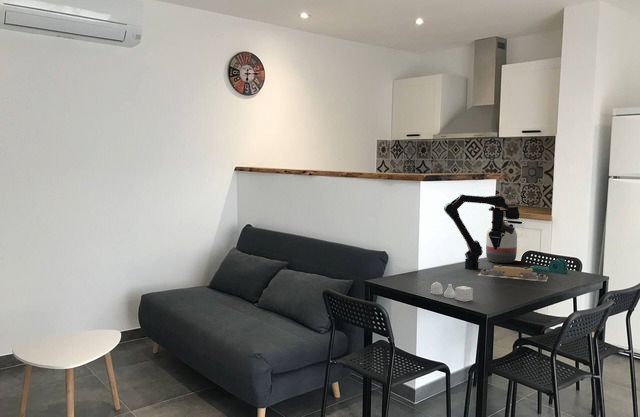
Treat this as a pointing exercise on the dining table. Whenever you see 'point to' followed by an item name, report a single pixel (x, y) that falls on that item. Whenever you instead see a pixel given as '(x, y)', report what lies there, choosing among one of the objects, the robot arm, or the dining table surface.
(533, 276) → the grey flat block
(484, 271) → the lower chain end
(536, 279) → the board
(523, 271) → the master link
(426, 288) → the dining table surface
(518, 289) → the dining table surface
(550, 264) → the teal handled piece
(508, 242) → the vase
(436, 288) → the container set
